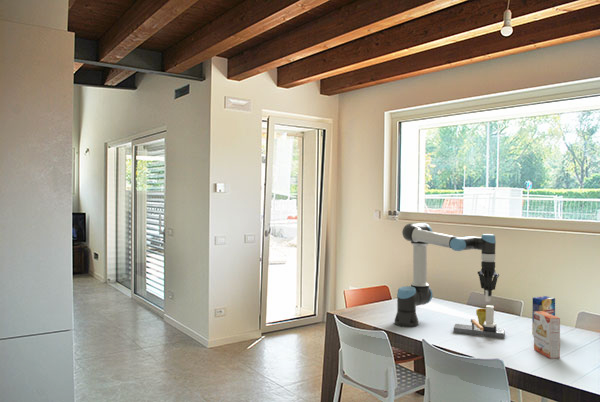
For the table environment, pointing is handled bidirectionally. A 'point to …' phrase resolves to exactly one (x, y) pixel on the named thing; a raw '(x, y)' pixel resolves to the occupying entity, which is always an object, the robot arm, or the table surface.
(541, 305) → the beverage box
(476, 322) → the orange rectangular bar
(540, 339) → the cracker box
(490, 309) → the plug
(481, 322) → the plant pot
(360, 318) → the table surface
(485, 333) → the power strip
